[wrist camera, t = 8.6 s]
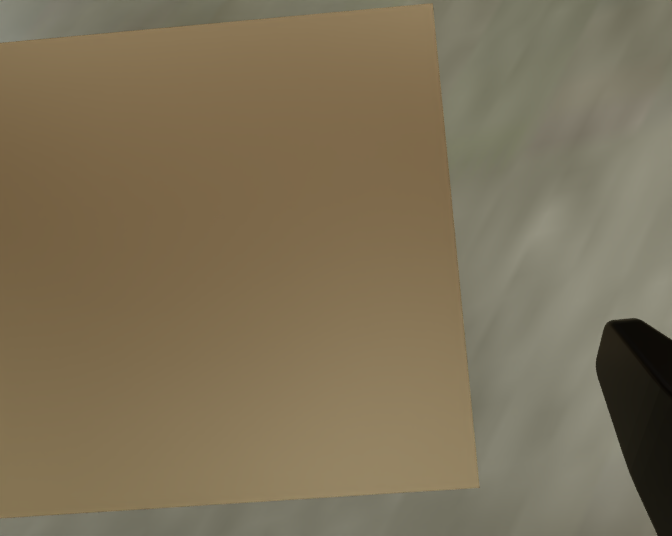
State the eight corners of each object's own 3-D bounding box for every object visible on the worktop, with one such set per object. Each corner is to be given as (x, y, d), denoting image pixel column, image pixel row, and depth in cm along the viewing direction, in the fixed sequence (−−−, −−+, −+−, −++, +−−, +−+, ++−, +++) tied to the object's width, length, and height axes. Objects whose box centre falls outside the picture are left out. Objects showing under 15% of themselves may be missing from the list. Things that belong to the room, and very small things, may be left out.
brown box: (392, 373, 16) (488, 494, 4) (261, 383, 17) (-32, 528, 4) (381, 244, 17) (437, -4, 5) (254, 253, 17) (-32, 39, 5)
